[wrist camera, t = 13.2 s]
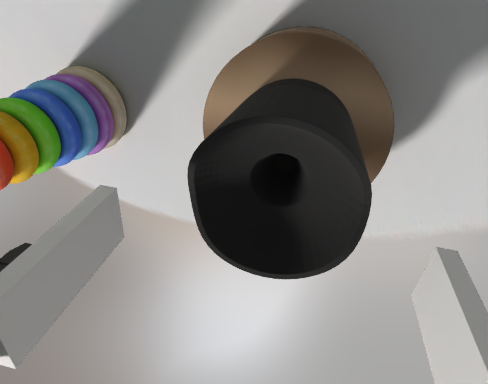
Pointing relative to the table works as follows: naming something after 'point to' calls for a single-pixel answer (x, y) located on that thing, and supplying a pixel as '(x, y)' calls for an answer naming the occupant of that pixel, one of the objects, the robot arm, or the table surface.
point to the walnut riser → (313, 69)
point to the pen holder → (282, 183)
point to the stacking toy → (58, 122)
